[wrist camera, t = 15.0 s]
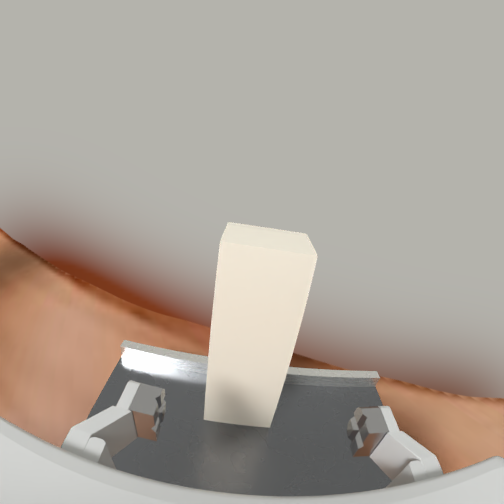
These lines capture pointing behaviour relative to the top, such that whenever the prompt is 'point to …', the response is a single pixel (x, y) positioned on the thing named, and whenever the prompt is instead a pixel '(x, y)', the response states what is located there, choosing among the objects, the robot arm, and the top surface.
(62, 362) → the top surface
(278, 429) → the flat grey white box
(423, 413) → the top surface
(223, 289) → the tea box
